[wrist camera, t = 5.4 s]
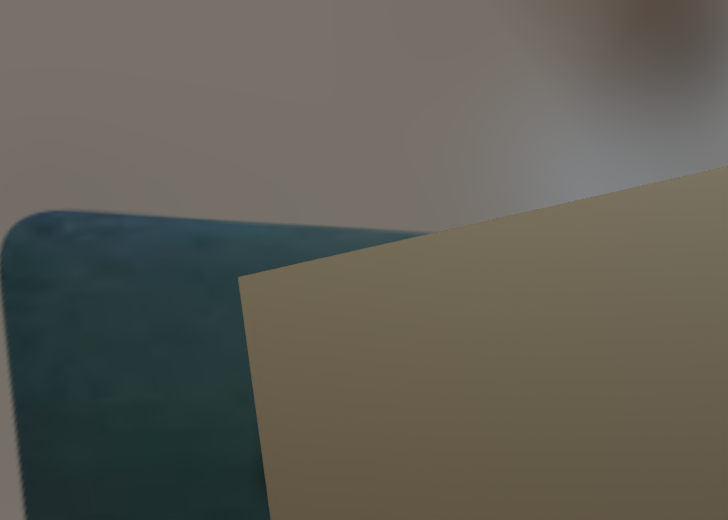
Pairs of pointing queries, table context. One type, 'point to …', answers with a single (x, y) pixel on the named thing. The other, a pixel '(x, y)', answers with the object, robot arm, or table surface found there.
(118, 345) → the table surface
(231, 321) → the table surface
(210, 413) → the table surface
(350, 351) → the pillar
